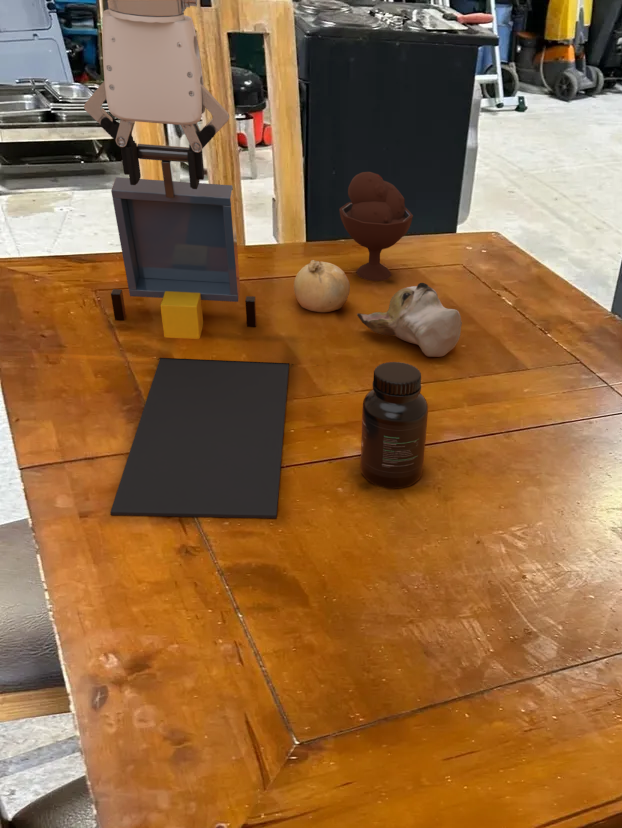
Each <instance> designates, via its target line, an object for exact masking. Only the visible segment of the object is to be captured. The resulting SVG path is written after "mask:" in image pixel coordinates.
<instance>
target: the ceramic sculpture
mask: <svg viewBox="0 0 622 828" xmlns="http://www.w3.org/2000/svg"><path fill="white" fill-rule="evenodd" d="M356 316H357V318H358V319H359V320H360V321H361V323H362V324H363V325H364V326H366V327H367V328H368V329H369V330H370V331H372V332H373V333H375V334H378V335H382V336H392V337H393V336H394V337H396V338H398V339H400V340H401V341H404V342H406V343H409V344H413V345H417V346H419V348H420V351H421V352H422V353H423V354H424V355H425V356H426V357H428V358H442V357H445V356H446V355H447V354H448V353H449V352H451V351H452V350H453V349H454V348H455V347H456V345H457V344H458V342H459V340H460V337H461V331H462V325H463V322H462V316H461V313H460V312H459V310H458V309H454V308H447V307H445V306H444V305H443V304H442V301H441V300H440V298H439V296H438V293H437V291H436V290H435V289H434V288H433V287H431V286H429V285H428V284H427V283H426V282H420V283H418V284H417V285H414V286H413V285H412V286H407V287H403V288H401V289H398V290H397V291H396V292H395V293H394V294H393V295H392V296H391V298H390V301H389V306H388V310H387V311H386V312H382V311H377V312H376V311H375V312H372V313H369V314H366V313H360V312H359V313H356Z"/></svg>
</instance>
